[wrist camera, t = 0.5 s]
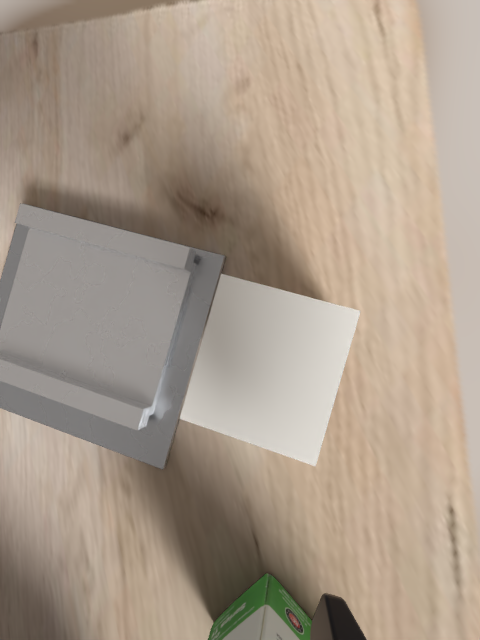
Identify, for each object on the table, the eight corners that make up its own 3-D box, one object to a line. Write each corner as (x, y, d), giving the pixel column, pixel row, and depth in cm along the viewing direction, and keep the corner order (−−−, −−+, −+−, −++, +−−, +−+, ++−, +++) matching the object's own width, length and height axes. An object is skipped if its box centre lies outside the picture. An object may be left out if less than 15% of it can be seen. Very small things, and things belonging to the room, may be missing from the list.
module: (313, 408, 22) (315, 466, 12) (236, 384, 23) (179, 418, 13) (338, 323, 22) (360, 310, 12) (260, 301, 23) (221, 273, 13)
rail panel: (165, 467, 23) (150, 480, 21) (-28, 394, 26) (-59, 399, 24) (226, 257, 23) (217, 248, 21) (26, 205, 26) (0, 193, 24)
